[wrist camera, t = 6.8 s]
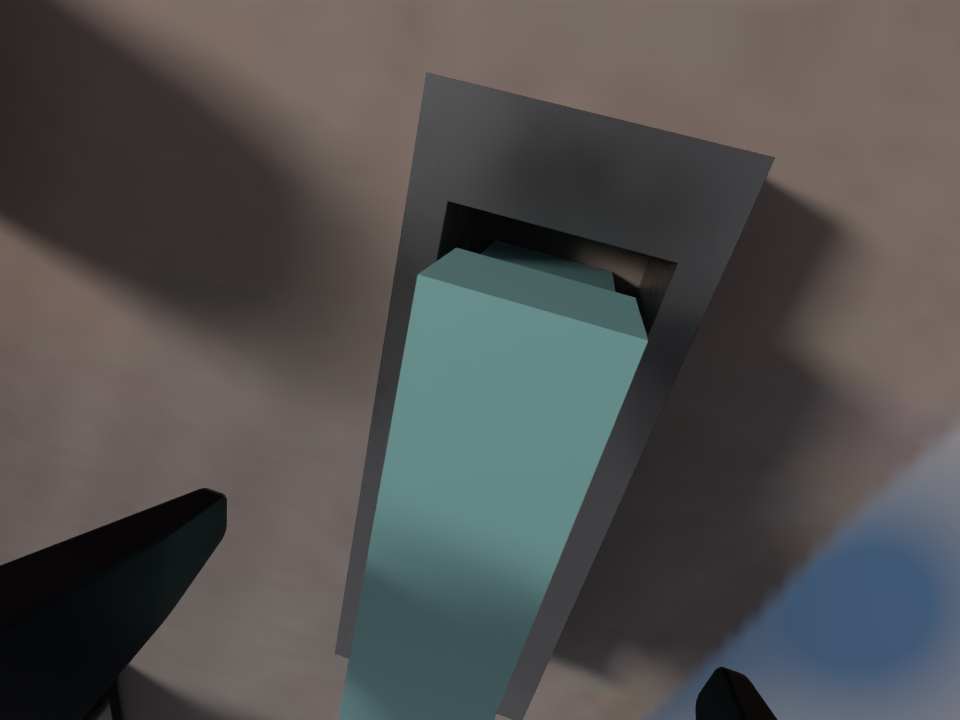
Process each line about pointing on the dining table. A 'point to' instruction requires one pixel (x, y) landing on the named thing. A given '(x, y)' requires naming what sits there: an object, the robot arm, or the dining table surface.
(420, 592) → the clip
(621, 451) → the grey slotted base block
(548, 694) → the dining table surface
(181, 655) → the dining table surface
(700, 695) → the robot arm
